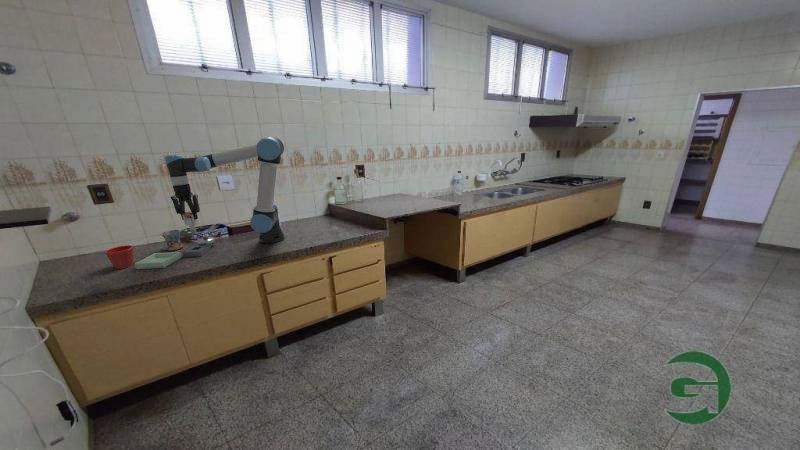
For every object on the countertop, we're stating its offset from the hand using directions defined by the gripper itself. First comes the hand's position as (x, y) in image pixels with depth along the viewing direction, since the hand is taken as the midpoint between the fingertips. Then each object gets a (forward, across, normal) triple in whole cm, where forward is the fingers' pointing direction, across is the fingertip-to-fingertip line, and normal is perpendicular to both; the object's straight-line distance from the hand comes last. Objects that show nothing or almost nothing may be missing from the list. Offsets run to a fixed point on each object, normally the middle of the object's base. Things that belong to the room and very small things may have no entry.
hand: (191, 224), depth 168 cm
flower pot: (+17, +31, +14) cm, 38 cm away
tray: (+17, +14, +12) cm, 25 cm away
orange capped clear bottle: (+5, 0, 0) cm, 5 cm away
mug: (+17, +20, -10) cm, 28 cm away
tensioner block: (+17, +1, -5) cm, 18 cm away
